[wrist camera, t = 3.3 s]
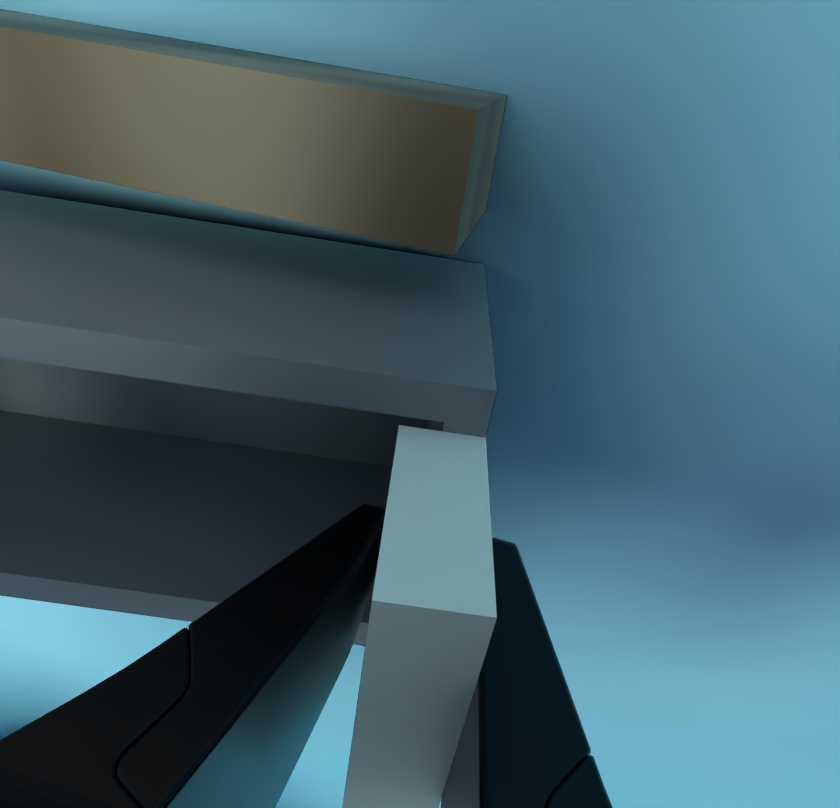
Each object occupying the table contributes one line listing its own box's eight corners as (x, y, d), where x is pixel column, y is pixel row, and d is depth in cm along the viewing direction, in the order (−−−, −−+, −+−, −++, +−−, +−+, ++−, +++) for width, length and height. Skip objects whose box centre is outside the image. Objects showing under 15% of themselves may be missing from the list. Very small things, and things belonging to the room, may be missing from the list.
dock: (507, 95, 11) (478, 109, 8) (420, 562, 17) (388, 654, 14) (-192, -24, 13) (-386, -41, 10) (-44, 429, 19) (-143, 488, 16)
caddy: (484, 264, 12) (513, 562, 5) (441, 478, 15) (425, 847, 8) (-124, 171, 12) (-896, 362, 5) (-50, 407, 15) (-480, 729, 8)
